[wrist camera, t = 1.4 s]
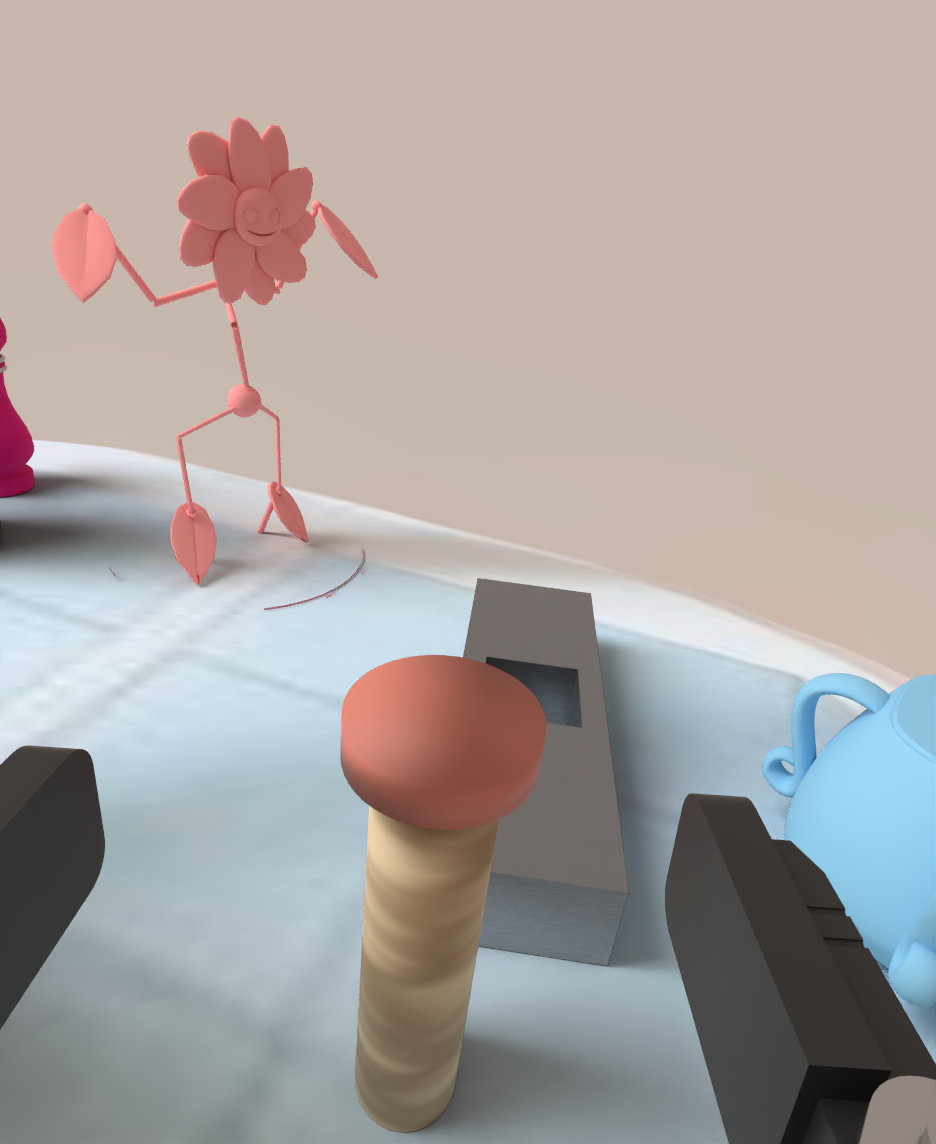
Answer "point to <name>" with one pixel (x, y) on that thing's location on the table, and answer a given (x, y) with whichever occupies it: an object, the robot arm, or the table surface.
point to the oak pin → (428, 861)
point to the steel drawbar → (554, 781)
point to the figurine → (222, 276)
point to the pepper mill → (13, 441)
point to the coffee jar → (0, 532)
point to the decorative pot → (871, 817)
